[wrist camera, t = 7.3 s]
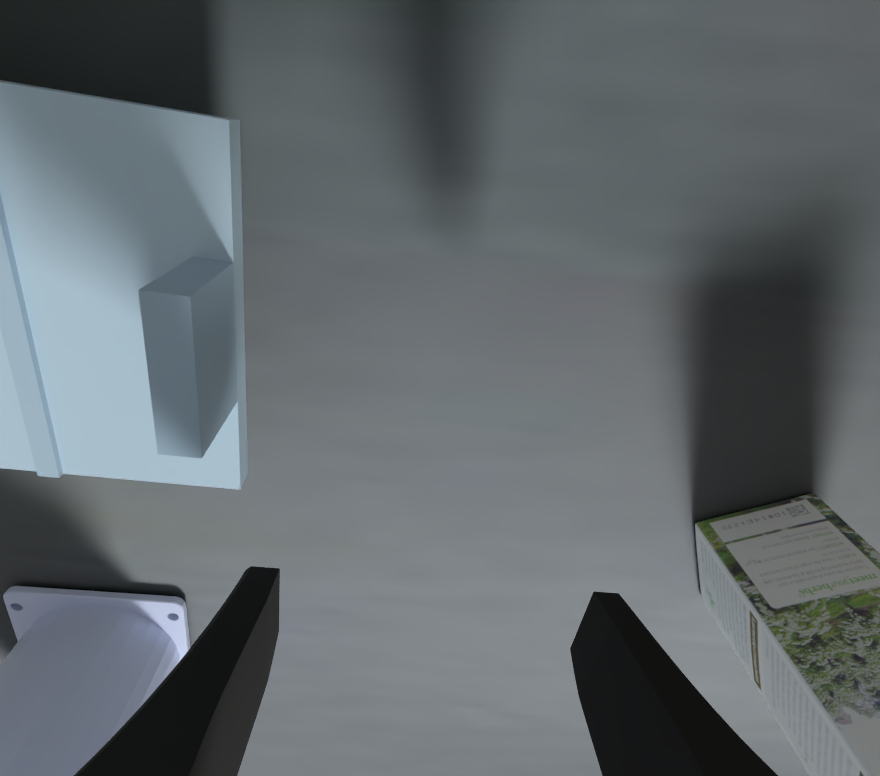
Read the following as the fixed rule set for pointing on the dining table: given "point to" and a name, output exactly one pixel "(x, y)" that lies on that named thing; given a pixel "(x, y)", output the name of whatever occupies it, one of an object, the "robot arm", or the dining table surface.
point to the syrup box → (802, 624)
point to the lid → (120, 290)
